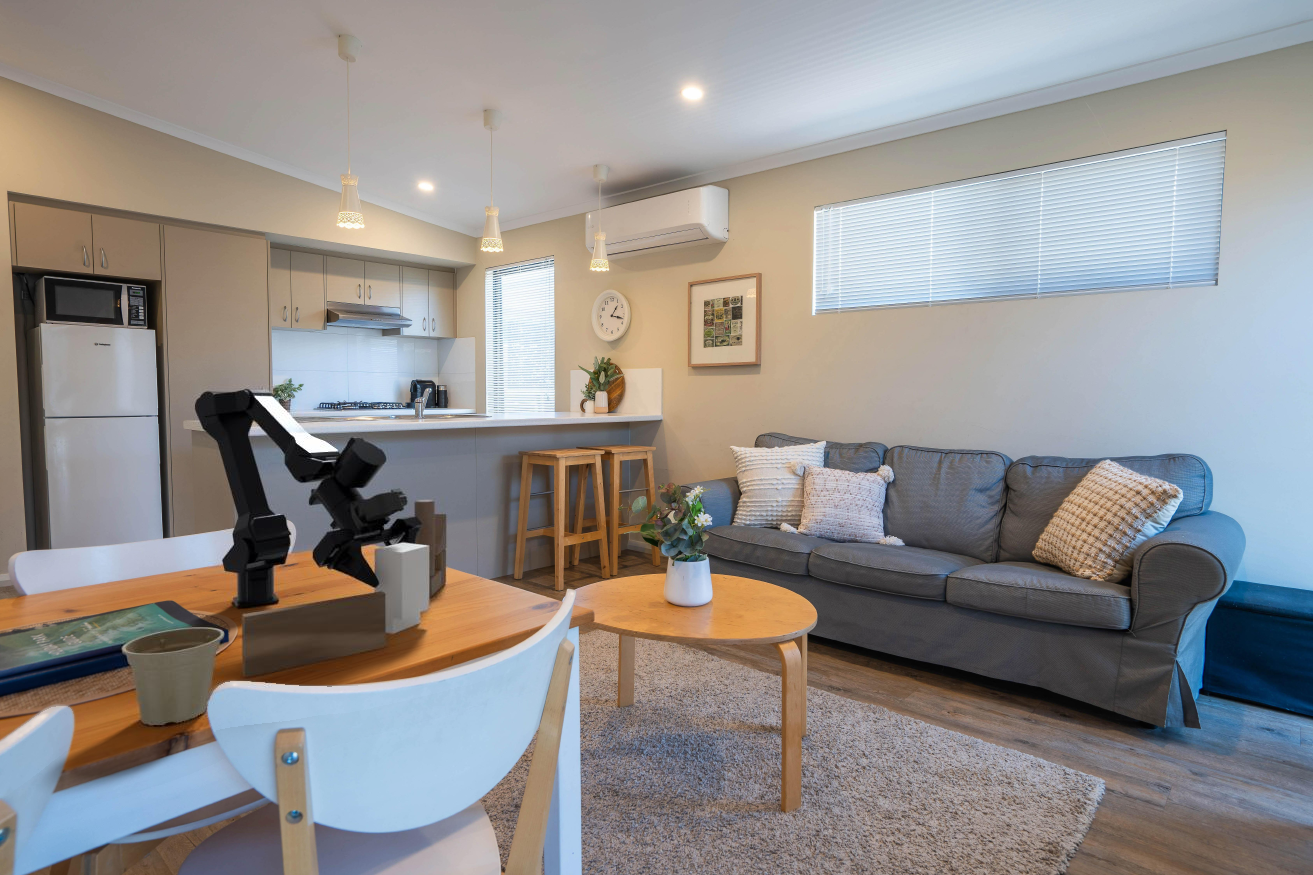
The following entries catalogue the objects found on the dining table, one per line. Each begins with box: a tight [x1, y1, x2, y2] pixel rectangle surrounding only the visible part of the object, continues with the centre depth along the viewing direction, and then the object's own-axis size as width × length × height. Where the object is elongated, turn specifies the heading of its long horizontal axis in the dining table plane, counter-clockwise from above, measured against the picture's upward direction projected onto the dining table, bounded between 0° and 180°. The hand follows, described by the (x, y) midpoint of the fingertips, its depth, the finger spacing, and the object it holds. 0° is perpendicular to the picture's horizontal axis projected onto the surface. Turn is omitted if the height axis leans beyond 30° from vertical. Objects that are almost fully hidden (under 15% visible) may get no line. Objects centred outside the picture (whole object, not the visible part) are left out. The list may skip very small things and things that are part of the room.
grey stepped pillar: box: [413, 498, 447, 598], centre depth 131 cm, size 4×11×18 cm, turn 3°
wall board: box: [241, 591, 387, 679], centre depth 94 cm, size 3×18×8 cm, turn 132°
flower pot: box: [121, 626, 225, 726], centre depth 77 cm, size 9×9×9 cm
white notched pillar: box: [374, 543, 430, 635], centre depth 109 cm, size 6×6×13 cm
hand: (399, 579), depth 109 cm, fingers open, 9 cm apart
